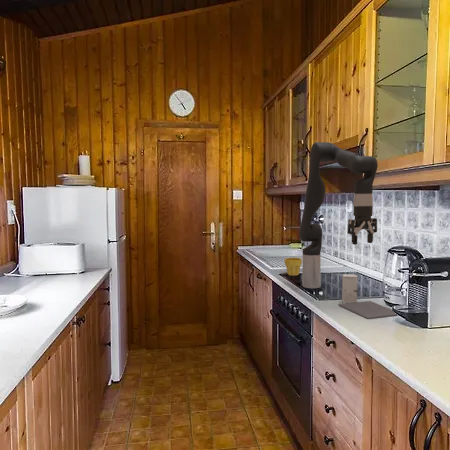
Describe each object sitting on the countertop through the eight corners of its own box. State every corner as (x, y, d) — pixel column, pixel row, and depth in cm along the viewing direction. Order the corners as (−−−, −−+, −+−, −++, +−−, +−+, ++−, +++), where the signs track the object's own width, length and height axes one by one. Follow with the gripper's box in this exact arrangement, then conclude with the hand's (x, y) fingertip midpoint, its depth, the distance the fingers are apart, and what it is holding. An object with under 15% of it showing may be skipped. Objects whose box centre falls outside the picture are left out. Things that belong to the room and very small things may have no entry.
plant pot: (281, 274, 233) (281, 259, 232) (290, 272, 240) (290, 256, 240) (296, 277, 226) (295, 260, 225) (305, 274, 233) (305, 258, 233)
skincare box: (343, 302, 169) (343, 276, 169) (341, 300, 174) (341, 274, 173) (357, 303, 168) (357, 276, 168) (355, 300, 173) (356, 274, 172)
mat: (338, 305, 166) (338, 304, 166) (370, 302, 170) (370, 300, 170) (367, 319, 146) (367, 317, 146) (402, 315, 151) (402, 313, 151)
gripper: (368, 204, 164) (367, 241, 165) (343, 205, 158) (342, 243, 159) (382, 204, 157) (381, 243, 159) (357, 205, 151) (356, 246, 152)
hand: (362, 243), depth 159 cm, fingers open, 8 cm apart
